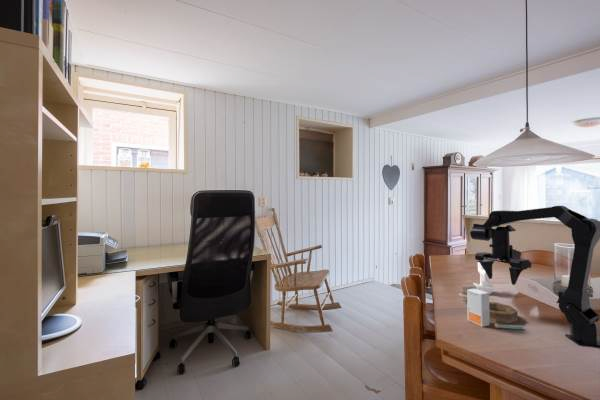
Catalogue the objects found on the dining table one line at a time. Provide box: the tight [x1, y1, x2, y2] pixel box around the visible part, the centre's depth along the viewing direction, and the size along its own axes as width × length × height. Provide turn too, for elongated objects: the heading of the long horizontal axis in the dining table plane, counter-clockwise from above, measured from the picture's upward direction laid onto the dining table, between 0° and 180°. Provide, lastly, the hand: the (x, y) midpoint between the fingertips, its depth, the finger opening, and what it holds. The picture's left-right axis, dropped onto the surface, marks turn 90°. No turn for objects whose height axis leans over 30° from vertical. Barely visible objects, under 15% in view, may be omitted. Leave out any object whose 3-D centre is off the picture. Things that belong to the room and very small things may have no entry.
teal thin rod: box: [494, 323, 525, 330], centre depth 100 cm, size 9×1×1 cm, turn 77°
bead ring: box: [489, 301, 519, 324], centre depth 111 cm, size 12×12×4 cm
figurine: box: [472, 261, 495, 295], centre depth 139 cm, size 7×9×15 cm
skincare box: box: [466, 289, 491, 328], centre depth 105 cm, size 6×4×12 cm
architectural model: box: [459, 284, 476, 302], centre depth 127 cm, size 3×7×7 cm, turn 66°
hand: (501, 281), depth 111 cm, fingers open, 9 cm apart
